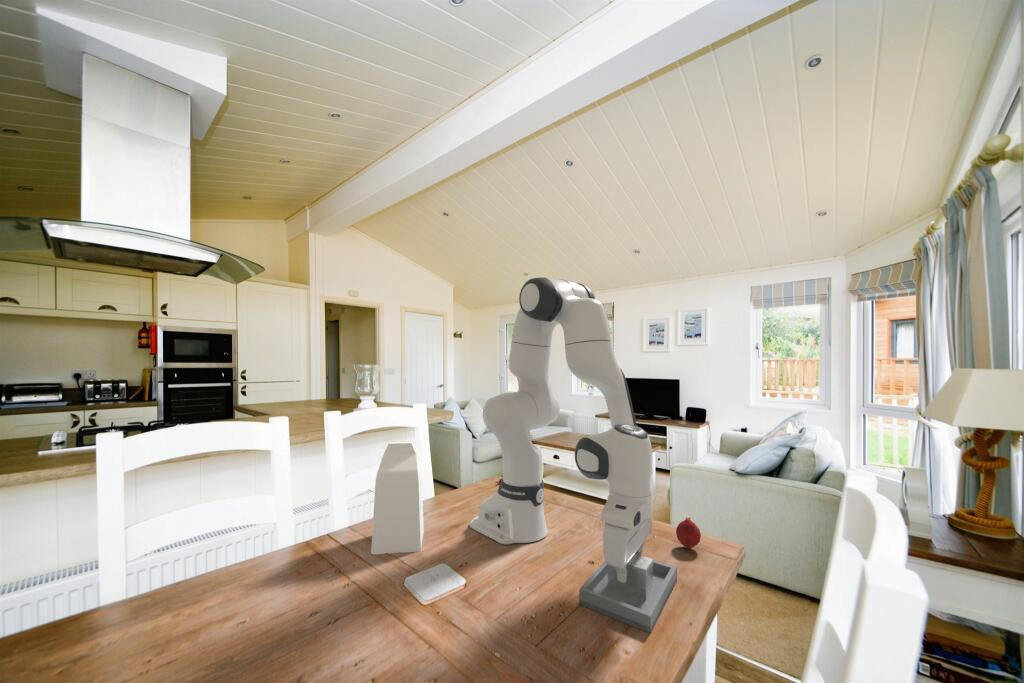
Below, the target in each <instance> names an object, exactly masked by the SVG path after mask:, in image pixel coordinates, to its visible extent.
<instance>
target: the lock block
mask: <svg viewBox="0 0 1024 683" xmlns="http://www.w3.org/2000/svg"><path fill="white" fill-rule="evenodd" d="M653 560H654V559H653V558H651V557H647V556H644V555H643V556H641V555H638V554H634V555H633V557H632V558H631V559H630V560H629V562H628V563H627V566H626V570H627V571H628V579H627V581H626V582H625V583H623V582H620V581H618V580H617V571H616V568H615V567H613V566H610V565H608V587H611V588H614V589H616V590H619V591H622V592H625V593H627V594H630V595H633V596H636V597H638V598H641V599H644V600H647V598H648V596H649V595H650V593H651V591H652V590H653Z"/></svg>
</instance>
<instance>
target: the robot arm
mask: <svg viewBox="0 0 1024 683" xmlns="http://www.w3.org/2000/svg"><path fill="white" fill-rule="evenodd" d="M518 300H519V307H520V308H519V310H518V311H517V315H516V318H515V321H514V324H513V330H512V336H511V343H510V350H509V359H508V360H509V361H508V369H509V371H510V373H511V374H512V376H514V377H516V379H517V384H518V389H517V391H515V392H504V393H501V394H498V395H495V396H493V397H490V398H489V399H488V400H486V402H485V403H484V406H483V409H482V420H483V423H484V425H485V427H486V428H487V429H488V431H489V432H491V433H492V434H493V435H494V436H495V437H496V439H497V442H498V444H499V446H500V451H501V454H502V457H501V458H502V478H500V479H499V480H497V481H495V482H494V487H497V486H498V488H497V491H494V493H493V494H491V495H490V496H489V497H487V498H486V499H484V501H482V502H481V503H480V506H479V509H478V513H477V515H476V516H475V517H474V518H473V519H472V520H471V521H470V523H469V528H471V529H473V530H474V531H476V532H478V533H480V534H482V535H484V536H486V537H488V538H490V539H491V540H494V541H495V542H497V543H499V544H501V545H511V544H526V543H533V542H534V543H535V542H537V541H540V540H542V539H544V538H546V536H547V535H548V532H549V531H548V526H547V522H546V518H545V510H544V498H545V497H544V494H545V493H544V492H545V491H544V490H545V487H544V483H545V482H544V480H543V454H542V451H541V450H540V449H539V447H537V446H536V445H534V444H533V441H532V439H531V430H536V429H542V428H544V427H547V426H549V425H551V424H552V423H554V422H555V421H557V419H558V417H559V415H560V403H559V400H558V397H556V395H555V394H554V393H553V391H552V388H551V384H550V380H549V366H550V358H551V349H552V341H553V340H552V339H553V332H554V329H555V327H556V326H557V325H561V327H562V329H563V335H564V337H563V338H564V351H565V352H564V353H565V361H566V364H567V367H568V369H569V371H570V372H571V373H572V374H573V376H575V377H576V378H577V379H578V380H580V381H582V382H583V383H586V384H589V385H591V386H592V387H595V389H597V390H598V391H599V392H601V393H602V395H603V397H604V399H605V402H606V407H607V412H608V415H609V420H610V424H611V428H610V429H608V430H605V431H604V432H601V433H597V434H591V435H588V436H585V437H582V438H580V439H579V440H578V442H577V443H576V445H575V449H574V461H575V464H576V465H575V466H576V467H577V469H578V471H579V472H580V473H581V474H582V475H583V476H584V477H586V478H587V479H591V480H597V481H598V480H599V481H600V480H605V481H607V482H608V496H607V498H606V499H607V500H606V503H605V505H604V507H603V508H602V510H601V513H600V520H601V522H602V523H604V524H603V530H602V542H603V543H602V546H603V547H602V548H603V558H604V561H605V562H606V563H607V564H608V565H610V566H613V567H615V568H616V571H617V580H618V581H620V582H623V583H625V582H626V581H627V579H628V571H627V570H626V566H627V563H628V562H629V560H630V559H631V558H632V557H633V555H634V554H638V555H641V556H644V555H643V553H644V548H645V543H646V540H647V539H648V538H649V536H650V534H651V533H652V530H653V514H654V513H653V502H654V501H653V487H652V484H651V480H652V479H651V478H652V474H653V471H654V470H653V450H652V448H653V447H652V443H651V438H650V436H649V434H648V432H647V431H646V430H644V429H643V428H642V427H640V426H638V423H637V420H636V415H635V412H634V411H635V410H634V407H633V403H632V399H631V398H632V397H631V394H630V389H629V386H628V381H627V379H626V375H625V373H624V371H623V370H622V368H621V367H620V366H619V363H618V361H617V359H616V356H615V352H614V349H613V343H612V336H611V335H612V333H611V329H610V324H609V321H608V319H609V318H608V317H607V312H606V310H605V307H604V305H603V304H602V302H601V301H599V300H598V299H596V297H595V293H594V292H593V291H592V290H591V288H589V287H588V286H587V285H584V284H582V283H580V282H579V283H578V282H573V281H570V280H567V279H561V278H560V279H557V278H547V277H541V276H540V277H532V278H530V279H528V280H526V282H525V283H524V284H523V286H522V288H521V289H520V291H519V297H518Z"/></svg>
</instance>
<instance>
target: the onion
mask: <svg viewBox="0 0 1024 683" xmlns="http://www.w3.org/2000/svg"><path fill="white" fill-rule="evenodd" d="M675 530H676V531H675V534H676V535H675V536H676V538H677V540H678V541H679V543H680V544H681V545H682V546H683V547H685V548H686V549H688V550H689V549H692V548H694V547H696V546H697V545H699V543H700V541H701V537H702V535H701V534H702V533H701V531H700V528H699V526H697V524H696V523H695V522H693V521H692V520H691V516H686V517H685V519H684V520H682V521H680V522H679V523H678V525H677V527H676V529H675Z"/></svg>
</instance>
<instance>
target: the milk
mask: <svg viewBox="0 0 1024 683" xmlns="http://www.w3.org/2000/svg"><path fill="white" fill-rule="evenodd" d="M418 455H419V454H418V453H417V450H416V448H415V446H414V444H413V441H401V442H400V441H397V442H391V441H390V442H389V443H388V444H387V446H386V448H385V450H384V453H383V455H382V458H381V461H380V463H379V467H378V469H377V473H376V477H375V482H374V483H375V484H374V486H375V487H374V500H373V516H372V531H371V532H372V534H371V536H372V537H371V551H370V555H371V554H373V555H383V554H384V555H385V553H388V554H400V553H399V552H402V553H415V552H416V553H417V552H422V546H423V539H424V533H425V532H424V531H425V529H424V528H425V526H424V524H425V522H424V503H423V502H424V500H423V498H424V497H423V475H422V474H423V473H422V472H423V471H422V463H421V461H420V458H419V456H418Z"/></svg>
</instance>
